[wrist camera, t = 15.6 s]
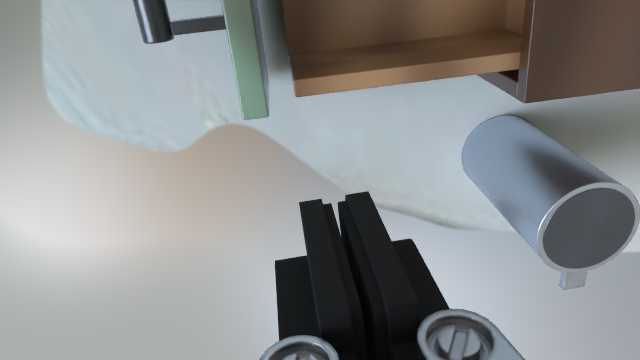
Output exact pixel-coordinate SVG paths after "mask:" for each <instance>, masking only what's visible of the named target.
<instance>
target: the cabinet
mask: <svg viewBox="0 0 640 360" xmlns="http://www.w3.org/2000/svg"><path fill="white" fill-rule="evenodd" d="M476 75H478V76H480V77H481V78H483V79H485V80H486V81H488V82H490V83H491V84H493V85H495V86H496V87H498V88H500V89H501V90H503V91H505V92H506V93H508V94H510V95H511V96H513V97H515V98H517V99H518V100H520V101H521V102H523V103H532V102H539V101H547V100H555V99H562V98H570V97H578V96H585V95H593V94H601V93H608V92H616V91H624V90H631V89H639V88H640V0H525V8H524V19H523V30H522V41H521V53H520V64H519V69H515V70H508V71H500V72H492V73H484V74H476Z"/></svg>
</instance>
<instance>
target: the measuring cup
mask: <svg viewBox="0 0 640 360" xmlns="http://www.w3.org/2000/svg"><path fill="white" fill-rule="evenodd" d="M462 165H463V168H464V171H465V173H466V174H467V176H468V177H469V178H470V179H471V180H472V181H473V182H474V184H475V185H476V186H477V187H478V188H479V189H480V190H481V192H482V193H483V194H484V195H485V196H486V197H487V198H488V199H489V201H490V202H491V203H492V204H493V205H494V206H495V207H496V208H497V210H498V211H499V212H500V213H501V214H502V215H503V216H504V217H505V219H506V220H507V221H508V222H509V223H510V224H511V225H512V226H513V228H514V229H515V230H516V231H517V232H518V233H519V234H520V235H521V236H522V238H523V239H524V240H525V241H526V242H527V243H528V244H529V246H530V247H531V248H532V249H533V250H534V251H535V252H536V254H537V255H538V256H539V257H540V258H541V259H542V260H543V261H544V262H545V263H546V264H547V265H548V266H550V267H551V268H553V269H556V270H558V271H561V278H560V284H559V286H560V287H561V288H562V289H563V290H565V289H572V288H579V287H584V285H585V280H586V275H587V271H588V270H591V269H594V268H597V267H599V266H601V265H603V264H605V263H607V262H608V261H610V260H612V259H613V258H614V257H616V256H617V255H618V254H619V253H620V252H621V251H622V250H623V249H624V248H625V247H626V246H627V245H628V243H629V242H630V241H631V239H632V238H633V236H634V234H635V232H636V230H637V227H638V224H639V219H640V208H639V204H638V201H637V199H636V197H635V195H634V194H633V193H632V192H631V191H630V190H629V189H628V188H626V187H625V186H623V185H622V184H620V183H619V182H617V181H616V180H614V179H613V178H611V177H610V176H608V175H607V174H605V173H604V172H602V171H601V170H599V169H598V168H596V167H595V166H593V165H592V164H590V163H589V162H587V161H585V160H584V159H582V158H581V157H579V156H578V155H576V154H575V153H573V152H572V151H570V150H569V149H567V148H566V147H564V146H563V145H561V144H560V143H558V142H557V141H555V140H554V139H552V138H551V137H549V136H548V135H546V134H545V133H543V132H542V131H540V130H539V129H537V128H536V127H534V126H533V125H531V124H530V123H528V122H527V121H525V120H523V119H521V118H519V117H516V116H511V115H503V116H497V117H494V118H491V119H489V120H487V121H485V122H483V123H482V124H480V125H479V126H478V127H477V128H476V129H475V130H474V131H473V132H472V133H471V134H470V136H469V137H468V138H467V140H466V142H465V145H464V147H463V151H462Z"/></svg>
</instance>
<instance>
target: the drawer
mask: <svg viewBox="0 0 640 360" xmlns="http://www.w3.org/2000/svg"><path fill="white" fill-rule="evenodd" d="M221 3H222V8H223V14H224V15H217V16H208V17H200V18H191V19H183V20H174V21H171V22H170V18H169V14H168V9H167V5H166V1H165V0H133V4H134V7H135V11H136V15H137V19H138V23H139V26H140V30H141V34H142V38H143V42H144V43H146V44H154V43H162V42H166V41H170V40H172V39H174V35H181V34H190V33H198V32H206V31H215V30H223V29H226V30H227V35H228V41H229V46H230V52H231V57H232V63H233V68H234V74H235V79H236V85H237V90H238V96H239V101H240V107H241V112H242V118H243V120H249V119H257V118H264V117H268V116H269V78H268V72H267V65H266V58H265V52H264V45H263V38H262V32H261V25H260V18H259V12H258V5H257V0H221ZM281 3H282V10H283V18H284V26H285V34H286V41H287V49H288V57H289V65H290V70H291V76H292V81H293V86H294V91H295V96H296V97H303V96H311V95H318V94H326V93H334V92H342V91H350V90H358V89H366V88H374V87H382V86H389V85H397V84H405V83H413V82H421V81H429V80H437V79H445V78H452V77H460V76H468V75H476V74H484V73H492V72H500V71H508V70H515V69H519V64H520V53H521V41H522V30H523V19H524V8H525V0H281Z"/></svg>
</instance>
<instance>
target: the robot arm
mask: <svg viewBox="0 0 640 360" xmlns="http://www.w3.org/2000/svg"><path fill="white" fill-rule="evenodd" d="M299 205H300V212H301V218H302V225H303V231H304V237H305V244H306V251H307V256H301V257H295V258H289V259H283V260H277V261H275V274H276V291H277V308H278V327H279V341H278V342H276V343H275V344H274V345H272V346H271V347H270V348H268V349H267V350H266V351H265V353H264V354H263V355H262V357H261V358H260V360H525V359H524V358H523V357H522V356H521V354H520V353H519V352H518V351H517V350H516V349H515V348H514V347H513V345H512V344H511V343H510V342H509V341H508V340H507V339H506V337H505V336H504V335H503V334H502V333H501V332H500V330H499V329H498V328H497V327H496V326H495V325H494V324H493V323H492V322H490V321H489V320H488V319H487V318H485V317H483V316H481V315H479V314H477V313H475V312H471V311H467V310H463V309H450V308H449V307H448V305H447V303H446V301H445V299H444V297H443V296H442V294H441V292H440V290H439V288H438V286H437V284H436V282H435V281H434V279H433V277H432V276H431V273H430V271H429V269H428V268H427V266H426V264H425V262H424V260H423V258H422V256H421V254H420V253H419V251H418V249H417V247H416V245H415V243H414V242H413V240H412V239H404V240H398V241H391V239H390V237H389V235H388V233H387V231H386V228H385V226H384V224H383V222H382V220H381V218H380V215H379V213H378V211H377V209H376V207H375V205H374V202H373V200H372V198H371V196H370V194H369V192H361V193H355V194H349V195H346V196H345V201H342V202H338V212H339V220H340V230H341V235H340V232H339V228H338V225H337V221H336V218H335V215H334V211H333V208H332V204H331V203H330V204H323V203H322V199H317V200H311V201H304V202H299Z"/></svg>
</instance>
